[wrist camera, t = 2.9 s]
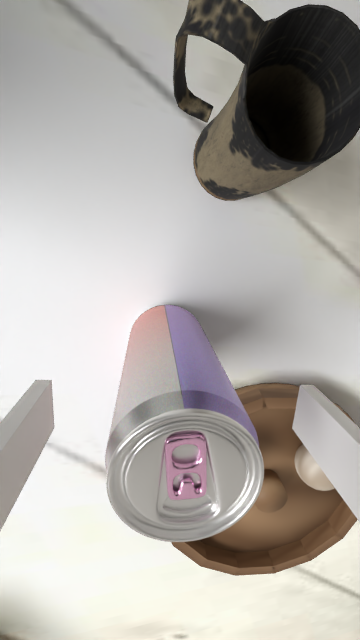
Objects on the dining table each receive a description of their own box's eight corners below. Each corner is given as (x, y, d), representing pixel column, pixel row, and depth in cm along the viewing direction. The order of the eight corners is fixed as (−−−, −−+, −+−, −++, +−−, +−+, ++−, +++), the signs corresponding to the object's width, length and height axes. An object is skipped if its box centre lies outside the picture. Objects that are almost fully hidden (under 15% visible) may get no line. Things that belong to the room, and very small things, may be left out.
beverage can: (201, 300, 24) (275, 401, 10) (202, 368, 26) (265, 537, 12) (127, 304, 24) (90, 416, 9) (132, 373, 25) (109, 555, 11)
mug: (284, 138, 21) (438, 30, 10) (251, 213, 23) (353, 195, 11) (181, 84, 20) (223, -117, 8) (152, 168, 21) (153, 93, 10)
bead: (290, 430, 27) (313, 462, 24) (332, 430, 28) (360, 462, 24) (283, 466, 28) (304, 503, 25) (323, 465, 29) (349, 501, 25)
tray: (164, 381, 26) (165, 400, 23) (377, 384, 28) (403, 401, 25) (154, 553, 31) (155, 586, 29) (333, 545, 34) (350, 574, 31)
